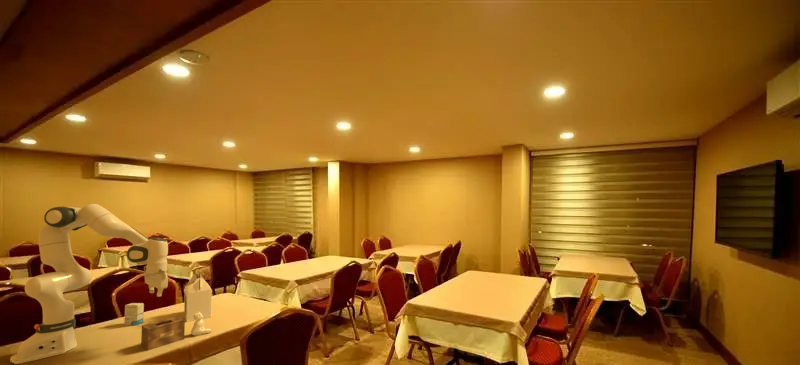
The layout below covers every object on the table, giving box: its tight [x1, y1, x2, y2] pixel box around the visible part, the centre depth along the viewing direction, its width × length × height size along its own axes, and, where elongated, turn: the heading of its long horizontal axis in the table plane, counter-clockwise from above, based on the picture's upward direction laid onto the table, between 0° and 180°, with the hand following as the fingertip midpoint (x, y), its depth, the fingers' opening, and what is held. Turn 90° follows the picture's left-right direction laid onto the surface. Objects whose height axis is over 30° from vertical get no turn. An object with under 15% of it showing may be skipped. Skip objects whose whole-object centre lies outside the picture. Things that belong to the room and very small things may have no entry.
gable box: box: [183, 269, 213, 323], centre depth 214 cm, size 22×13×28 cm, turn 37°
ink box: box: [123, 302, 145, 326], centre depth 199 cm, size 9×5×12 cm, turn 84°
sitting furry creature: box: [190, 312, 212, 337], centre depth 182 cm, size 10×9×12 cm
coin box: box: [140, 315, 186, 351], centre depth 171 cm, size 16×10×10 cm, turn 144°
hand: (155, 294), depth 175 cm, fingers open, 8 cm apart
